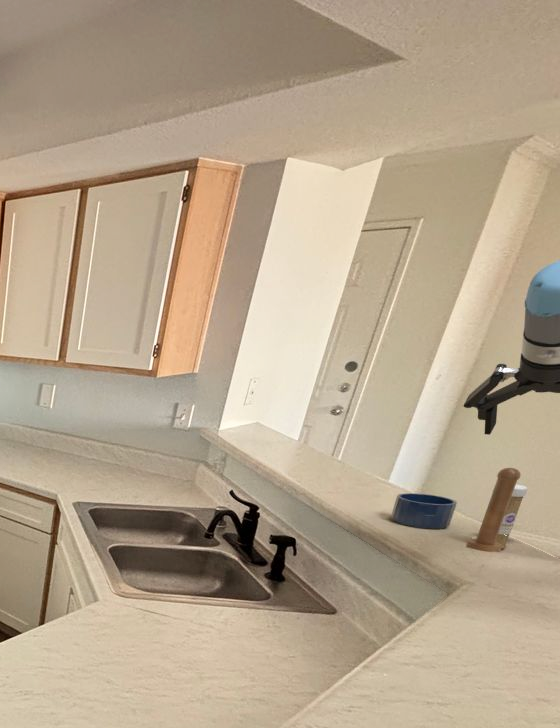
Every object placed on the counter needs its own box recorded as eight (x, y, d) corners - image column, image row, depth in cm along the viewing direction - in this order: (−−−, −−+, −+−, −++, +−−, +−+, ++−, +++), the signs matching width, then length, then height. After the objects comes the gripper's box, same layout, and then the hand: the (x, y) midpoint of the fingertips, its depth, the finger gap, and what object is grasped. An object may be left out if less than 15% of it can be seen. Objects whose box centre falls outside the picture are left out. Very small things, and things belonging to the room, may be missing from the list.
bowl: (450, 522, 140) (458, 498, 138) (446, 532, 133) (455, 507, 131) (393, 514, 147) (400, 491, 145) (387, 523, 140) (394, 499, 138)
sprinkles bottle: (493, 551, 122) (516, 488, 118) (468, 543, 126) (489, 483, 122) (511, 548, 123) (534, 486, 118) (485, 541, 127) (506, 481, 123)
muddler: (497, 555, 120) (529, 467, 113) (496, 562, 117) (530, 471, 110) (464, 550, 123) (493, 464, 117) (462, 556, 120) (492, 468, 114)
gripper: (439, 366, 101) (440, 441, 114) (682, 368, 82) (652, 459, 94) (457, 332, 102) (456, 410, 115) (702, 327, 83) (669, 422, 95)
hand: (544, 432), depth 105 cm, fingers open, 13 cm apart
